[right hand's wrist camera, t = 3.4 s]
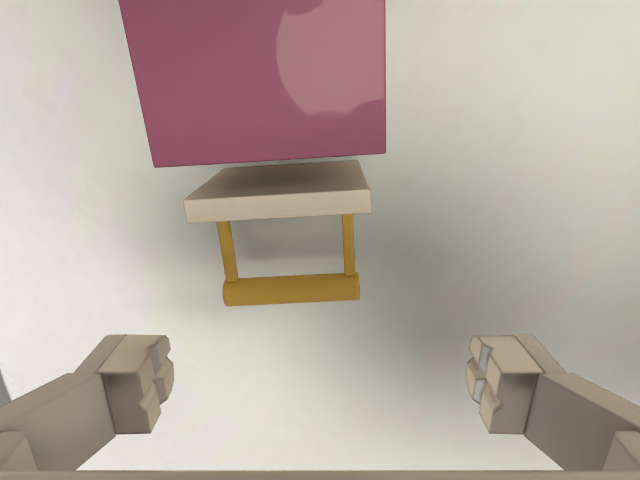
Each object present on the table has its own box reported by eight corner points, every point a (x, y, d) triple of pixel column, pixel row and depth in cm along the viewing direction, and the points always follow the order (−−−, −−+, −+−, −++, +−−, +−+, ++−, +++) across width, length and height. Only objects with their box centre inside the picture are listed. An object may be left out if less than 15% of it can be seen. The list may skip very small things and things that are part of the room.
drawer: (361, 259, 29) (373, 321, 22) (238, 266, 30) (207, 328, 22) (349, -115, 21) (362, -229, 14) (183, -100, 22) (104, -204, 14)
